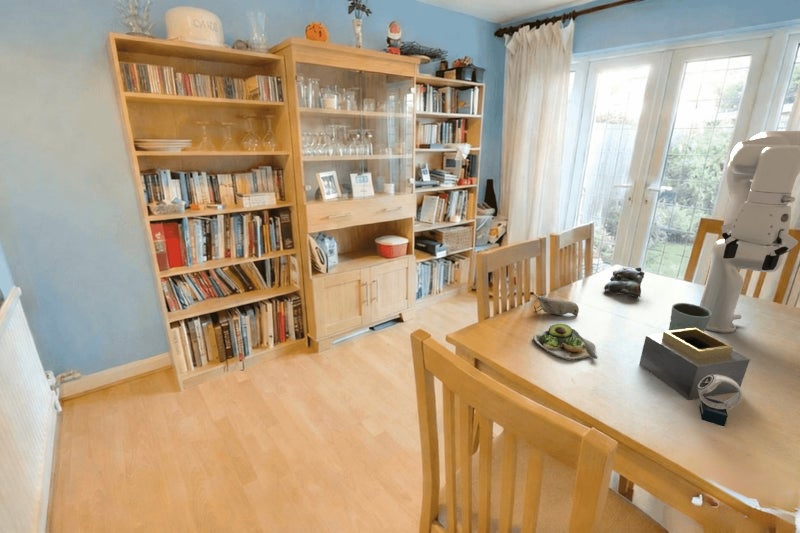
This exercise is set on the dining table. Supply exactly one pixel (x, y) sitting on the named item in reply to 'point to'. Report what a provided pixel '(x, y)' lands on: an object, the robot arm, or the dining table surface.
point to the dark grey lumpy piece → (626, 282)
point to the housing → (692, 361)
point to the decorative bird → (557, 306)
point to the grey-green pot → (689, 317)
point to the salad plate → (565, 342)
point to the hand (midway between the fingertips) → (747, 263)
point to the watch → (713, 408)
